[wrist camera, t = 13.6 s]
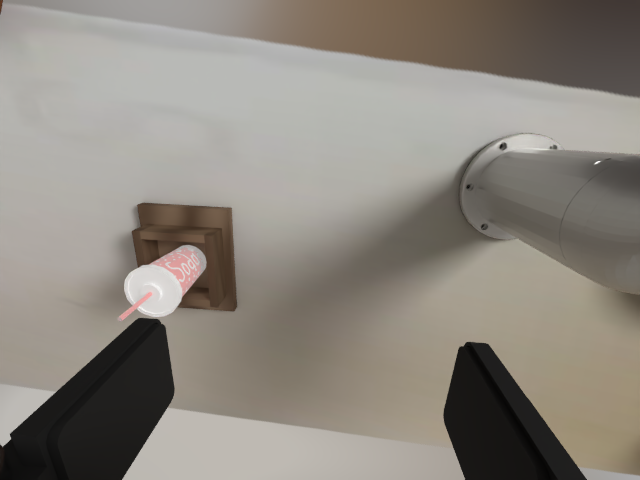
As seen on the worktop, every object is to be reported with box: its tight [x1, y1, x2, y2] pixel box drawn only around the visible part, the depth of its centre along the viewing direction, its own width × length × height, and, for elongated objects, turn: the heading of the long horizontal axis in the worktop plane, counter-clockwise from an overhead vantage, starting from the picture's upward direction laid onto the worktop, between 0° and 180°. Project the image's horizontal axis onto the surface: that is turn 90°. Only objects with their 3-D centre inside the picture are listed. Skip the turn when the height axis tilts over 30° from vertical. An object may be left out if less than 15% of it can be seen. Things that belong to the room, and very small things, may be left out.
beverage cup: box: [117, 245, 206, 322], centre depth 34 cm, size 6×6×14 cm
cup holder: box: [132, 203, 237, 311], centre depth 40 cm, size 12×15×4 cm
